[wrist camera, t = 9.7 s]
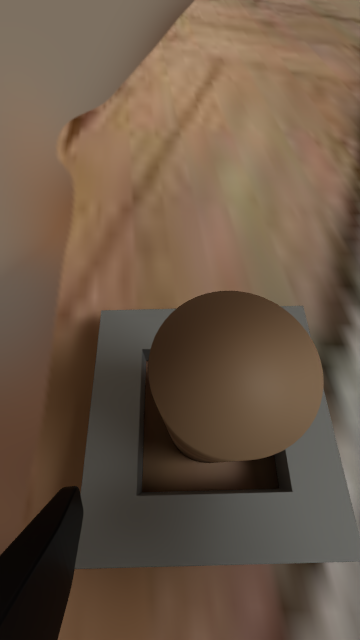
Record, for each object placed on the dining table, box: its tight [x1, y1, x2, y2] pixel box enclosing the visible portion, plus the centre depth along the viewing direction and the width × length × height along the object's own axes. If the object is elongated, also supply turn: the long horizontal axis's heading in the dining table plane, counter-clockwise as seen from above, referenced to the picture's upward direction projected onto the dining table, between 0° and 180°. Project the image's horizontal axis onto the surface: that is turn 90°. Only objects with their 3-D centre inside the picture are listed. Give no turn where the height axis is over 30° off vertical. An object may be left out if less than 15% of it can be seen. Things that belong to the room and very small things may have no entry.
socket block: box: [75, 306, 360, 569], centre depth 15 cm, size 12×12×2 cm
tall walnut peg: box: [148, 291, 323, 463], centre depth 12 cm, size 4×4×10 cm
